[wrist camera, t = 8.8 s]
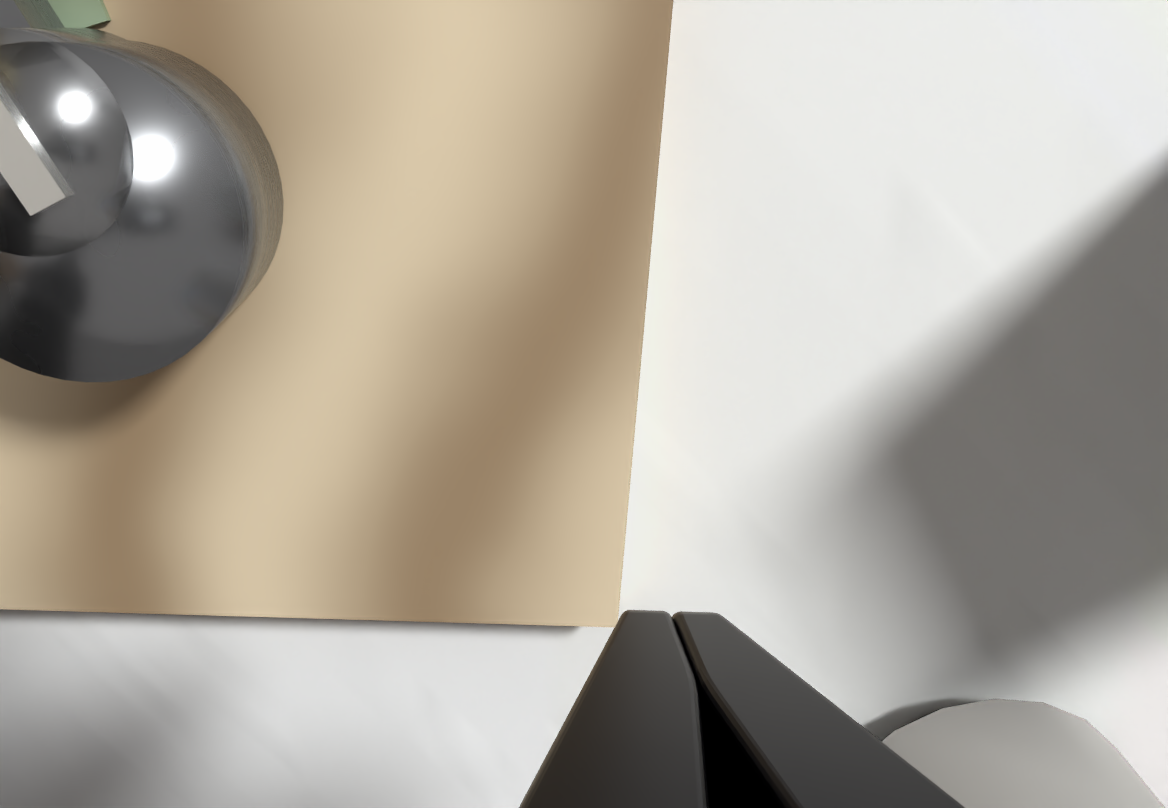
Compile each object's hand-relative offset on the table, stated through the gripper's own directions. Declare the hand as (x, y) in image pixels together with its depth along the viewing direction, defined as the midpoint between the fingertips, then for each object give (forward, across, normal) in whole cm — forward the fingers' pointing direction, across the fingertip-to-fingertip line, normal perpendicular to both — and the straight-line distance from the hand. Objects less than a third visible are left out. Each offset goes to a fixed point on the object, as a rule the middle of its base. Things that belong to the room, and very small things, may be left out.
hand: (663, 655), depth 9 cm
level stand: (+12, +8, -2) cm, 15 cm away
